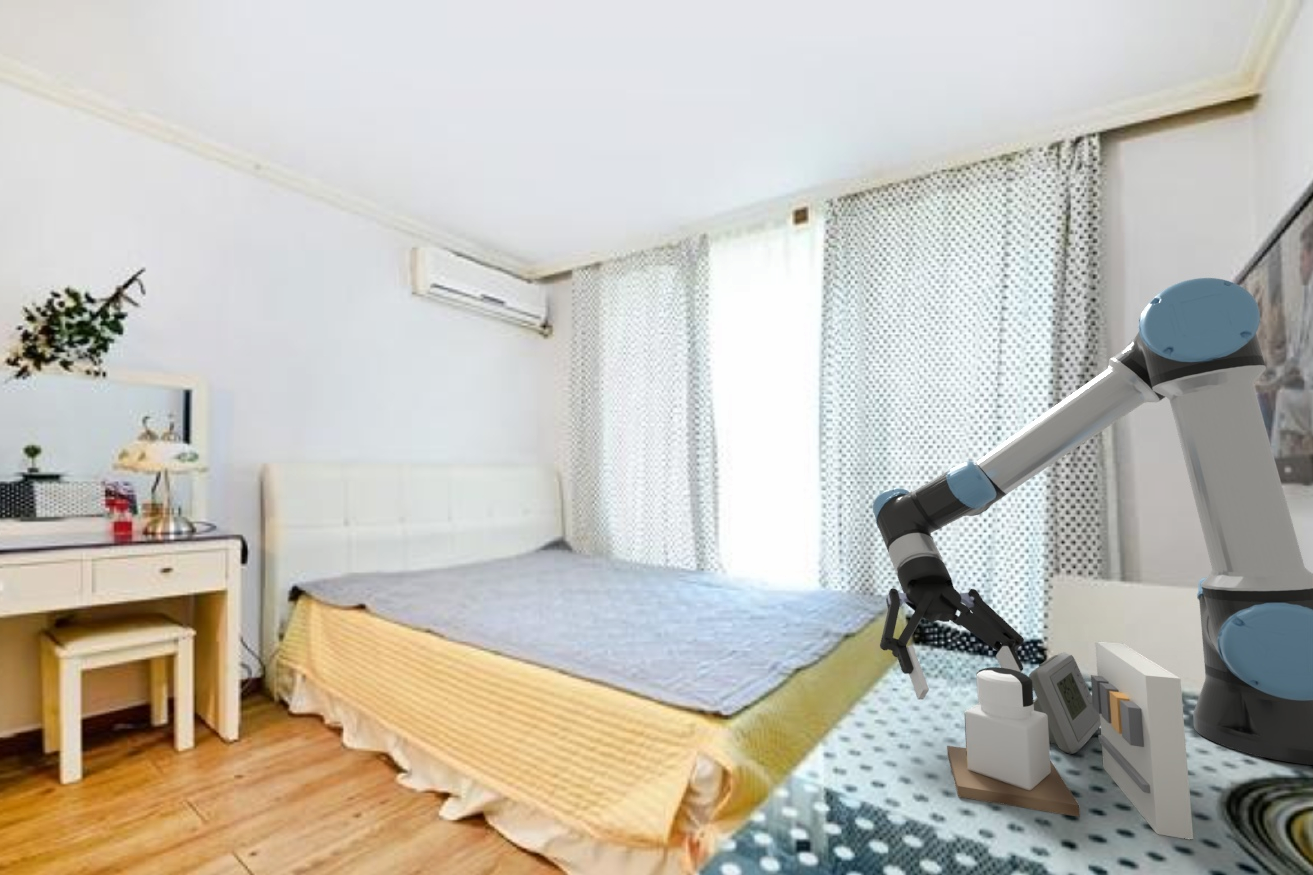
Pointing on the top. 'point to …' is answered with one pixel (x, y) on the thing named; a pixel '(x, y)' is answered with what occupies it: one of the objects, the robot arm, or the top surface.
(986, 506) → the robot arm
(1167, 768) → the breaker panel
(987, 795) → the walnut board
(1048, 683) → the digital clock
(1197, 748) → the top surface
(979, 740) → the medicine bottle
